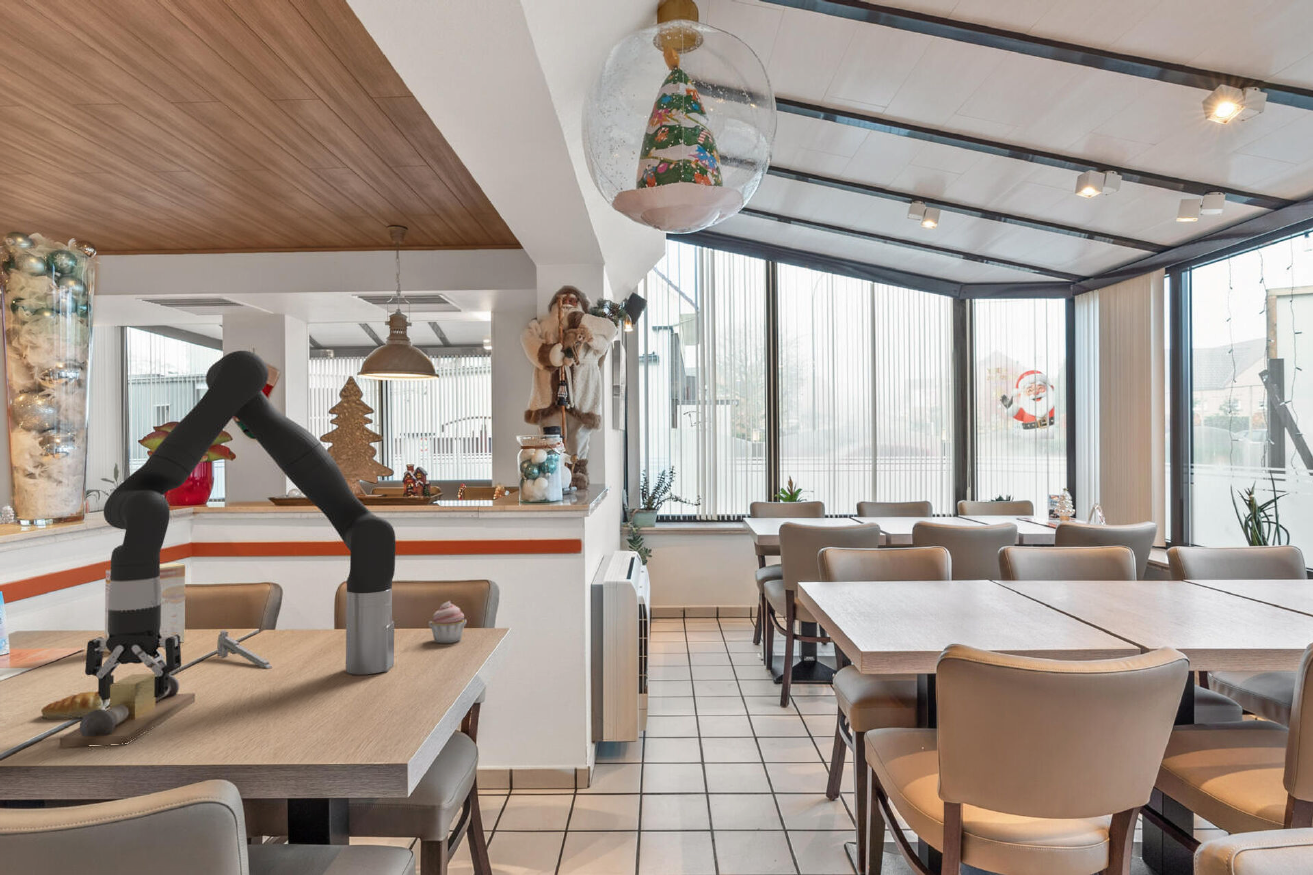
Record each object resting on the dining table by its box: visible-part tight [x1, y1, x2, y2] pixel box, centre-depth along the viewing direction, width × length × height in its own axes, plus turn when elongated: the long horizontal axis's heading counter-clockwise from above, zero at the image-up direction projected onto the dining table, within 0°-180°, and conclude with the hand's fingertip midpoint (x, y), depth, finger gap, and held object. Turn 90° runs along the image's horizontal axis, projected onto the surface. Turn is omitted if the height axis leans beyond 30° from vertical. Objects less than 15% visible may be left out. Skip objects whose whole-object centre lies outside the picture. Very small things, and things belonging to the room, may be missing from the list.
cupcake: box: [428, 600, 467, 644], centre depth 182 cm, size 9×9×10 cm
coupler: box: [109, 673, 156, 720], centre depth 126 cm, size 4×6×6 cm, turn 6°
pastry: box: [40, 691, 110, 720], centre depth 131 cm, size 9×7×4 cm
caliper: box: [216, 629, 273, 670], centre depth 164 cm, size 20×1×6 cm, turn 59°
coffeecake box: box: [104, 562, 186, 654], centre depth 178 cm, size 15×7×20 cm, turn 144°
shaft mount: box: [59, 674, 196, 749], centre depth 126 cm, size 10×21×5 cm, turn 7°
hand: (133, 697), depth 126 cm, fingers open, 8 cm apart
